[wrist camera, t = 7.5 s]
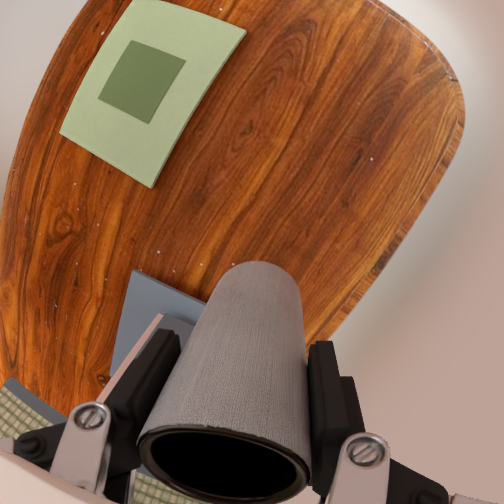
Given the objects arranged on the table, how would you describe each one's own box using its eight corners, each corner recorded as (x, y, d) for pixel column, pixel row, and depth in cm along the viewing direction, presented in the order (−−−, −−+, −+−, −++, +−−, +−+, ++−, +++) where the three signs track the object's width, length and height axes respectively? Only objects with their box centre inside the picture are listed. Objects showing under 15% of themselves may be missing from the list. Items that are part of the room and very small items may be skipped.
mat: (139, -4, 21) (136, -6, 21) (247, 32, 22) (246, 30, 22) (62, 133, 27) (58, 132, 26) (152, 188, 28) (150, 188, 27)
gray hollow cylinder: (256, 349, 17) (225, 516, 7) (197, 296, 16) (107, 450, 6) (318, 303, 15) (346, 482, 6) (259, 241, 15) (210, 398, 5)
